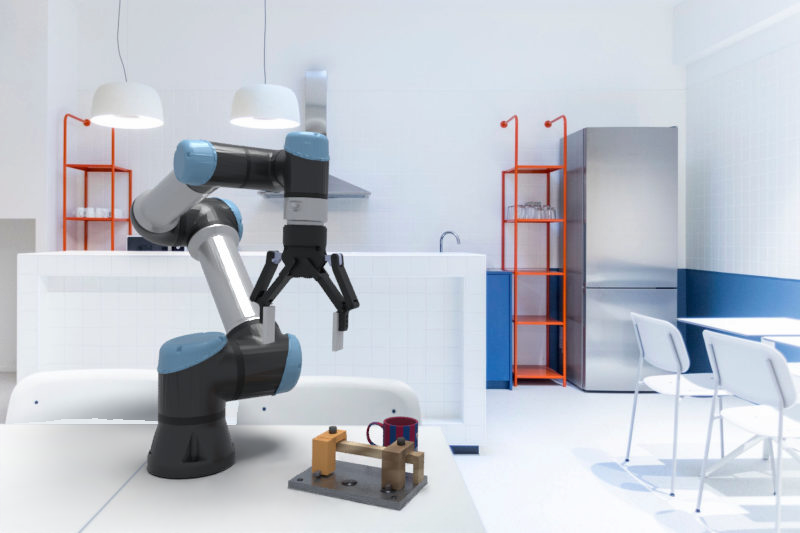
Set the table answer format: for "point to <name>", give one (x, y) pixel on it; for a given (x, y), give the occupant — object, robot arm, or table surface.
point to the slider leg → (326, 450)
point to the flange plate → (357, 485)
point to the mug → (397, 430)
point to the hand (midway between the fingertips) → (302, 346)
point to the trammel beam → (390, 460)
